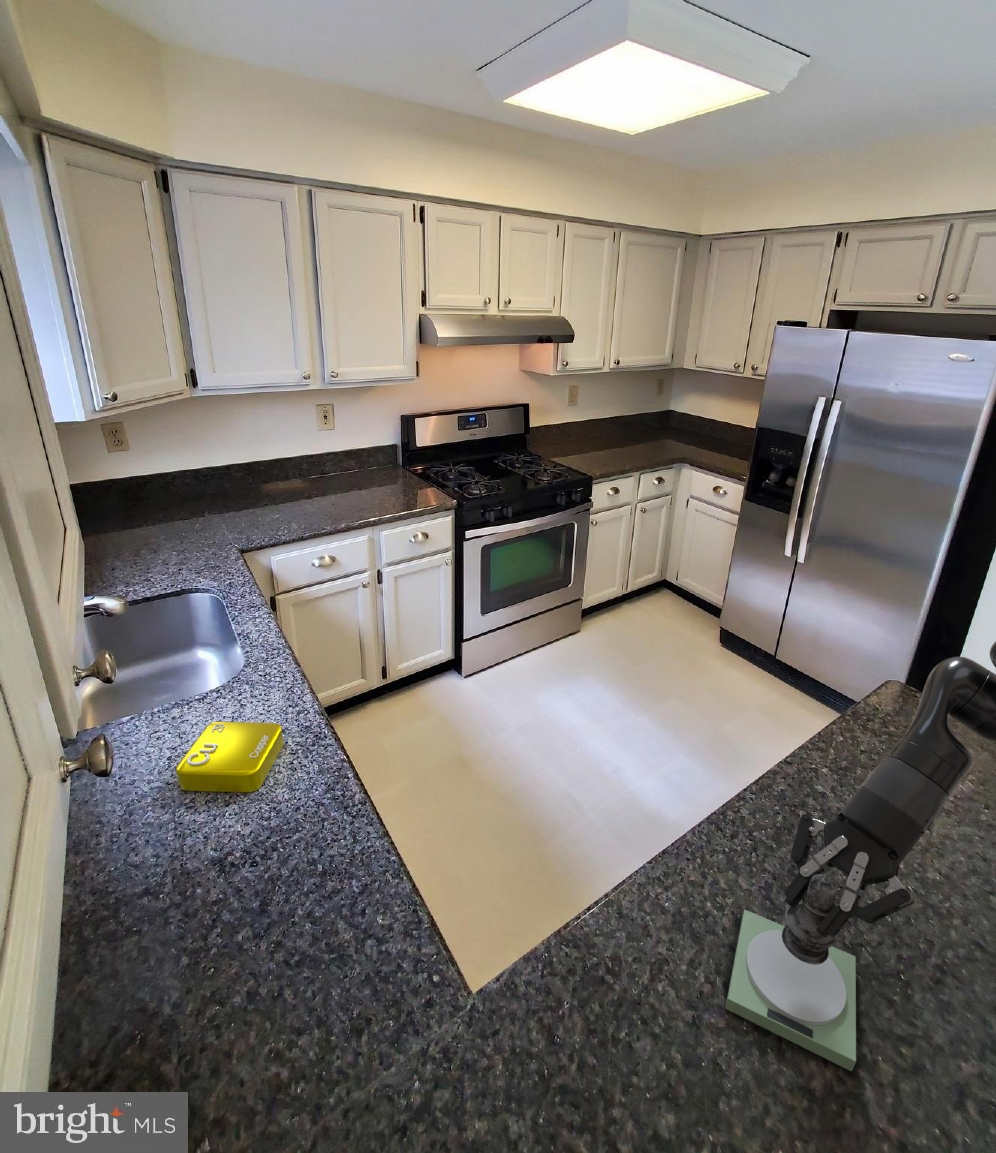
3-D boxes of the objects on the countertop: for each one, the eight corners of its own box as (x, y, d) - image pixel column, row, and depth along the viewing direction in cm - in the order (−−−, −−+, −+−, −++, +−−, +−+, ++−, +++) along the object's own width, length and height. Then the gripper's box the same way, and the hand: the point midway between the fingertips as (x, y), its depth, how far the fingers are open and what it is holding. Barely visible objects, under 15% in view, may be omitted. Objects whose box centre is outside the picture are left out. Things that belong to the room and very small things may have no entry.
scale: (852, 966, 80) (857, 952, 79) (851, 1072, 69) (858, 1057, 67) (741, 918, 86) (745, 905, 85) (725, 1008, 75) (728, 994, 74)
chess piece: (835, 974, 71) (861, 904, 66) (781, 957, 72) (803, 888, 67) (827, 929, 76) (851, 861, 71) (777, 915, 77) (797, 848, 73)
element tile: (258, 794, 107) (254, 773, 105) (175, 791, 107) (170, 770, 105) (287, 739, 121) (284, 720, 119) (214, 737, 121) (209, 718, 119)
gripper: (830, 759, 75) (744, 867, 74) (953, 840, 63) (853, 968, 63) (845, 778, 79) (765, 880, 79) (963, 857, 68) (870, 976, 67)
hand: (805, 918), depth 71 cm, fingers closed on chess piece, 3 cm apart
